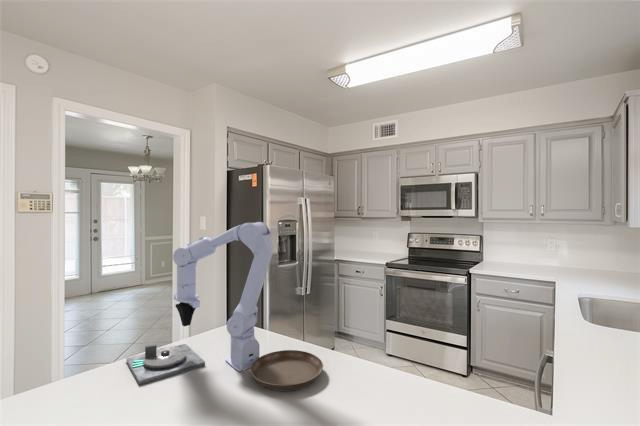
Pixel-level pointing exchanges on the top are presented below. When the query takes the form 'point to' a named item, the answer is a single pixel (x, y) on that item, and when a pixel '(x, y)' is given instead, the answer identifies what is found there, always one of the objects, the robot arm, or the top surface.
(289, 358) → the plant saucer
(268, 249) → the robot arm
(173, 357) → the dial
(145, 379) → the panel
